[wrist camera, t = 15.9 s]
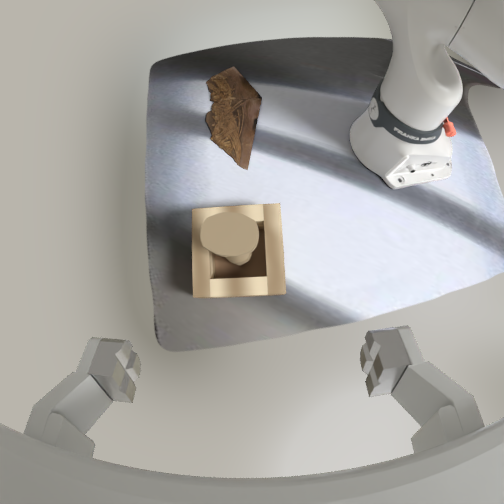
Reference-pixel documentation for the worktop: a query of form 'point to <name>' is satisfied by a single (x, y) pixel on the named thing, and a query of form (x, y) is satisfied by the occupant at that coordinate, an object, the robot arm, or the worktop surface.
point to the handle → (230, 236)
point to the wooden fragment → (233, 114)
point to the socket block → (246, 275)
